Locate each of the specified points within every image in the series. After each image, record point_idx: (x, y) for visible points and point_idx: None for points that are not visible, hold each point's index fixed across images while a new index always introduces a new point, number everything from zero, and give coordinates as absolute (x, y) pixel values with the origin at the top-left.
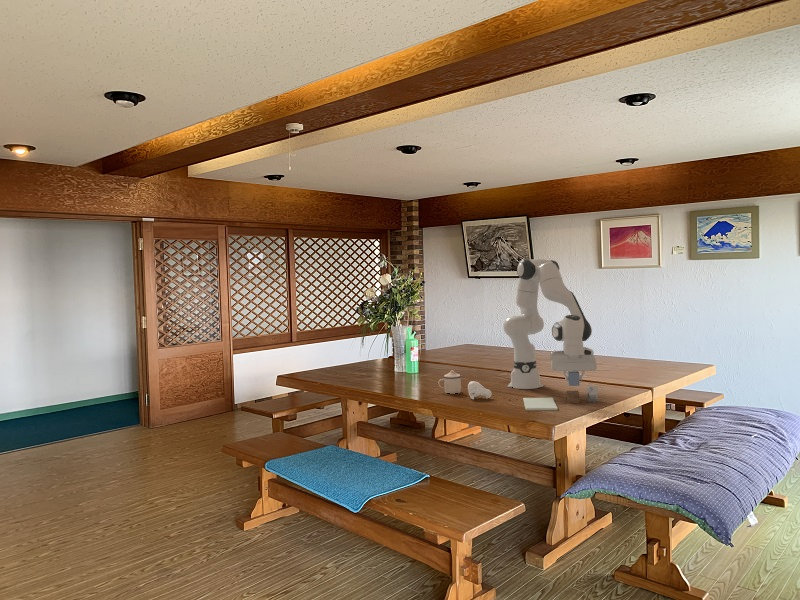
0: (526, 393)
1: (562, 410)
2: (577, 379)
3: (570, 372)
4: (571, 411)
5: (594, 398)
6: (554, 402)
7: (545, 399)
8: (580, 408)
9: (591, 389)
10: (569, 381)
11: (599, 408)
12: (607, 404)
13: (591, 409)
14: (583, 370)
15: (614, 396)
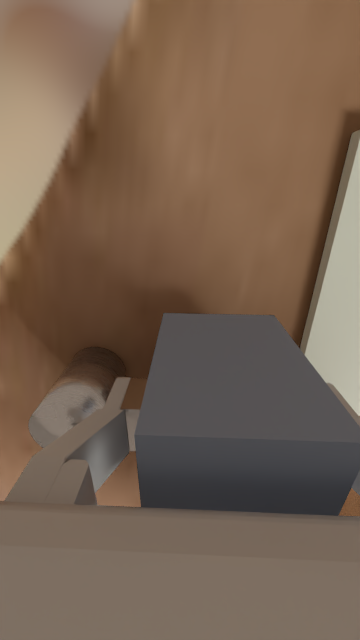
0: (356, 501)
1: (316, 130)
2: (181, 351)
3: (318, 479)
4: (260, 89)
5: (79, 360)
6: (317, 311)
7: (340, 381)
8: (179, 198)
9: (73, 397)
10: (290, 339)
11: (58, 195)
12: (19, 302)
13: (110, 163)
14: (8, 505)
15: (4, 445)
